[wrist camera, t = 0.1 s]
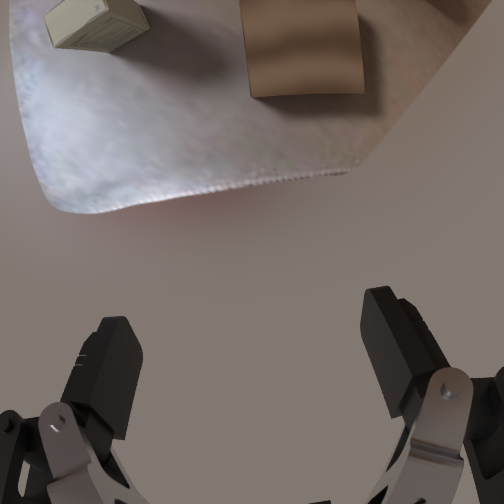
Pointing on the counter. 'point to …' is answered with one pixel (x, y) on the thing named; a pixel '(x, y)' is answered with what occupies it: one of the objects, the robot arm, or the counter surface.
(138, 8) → the skincare box
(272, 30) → the walnut block
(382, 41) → the counter surface
